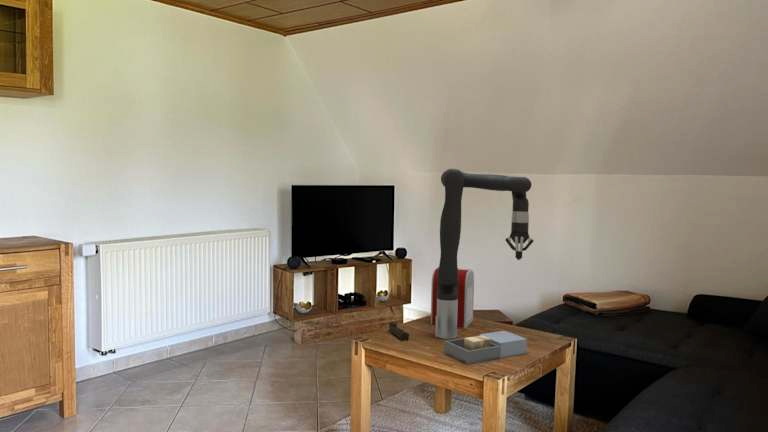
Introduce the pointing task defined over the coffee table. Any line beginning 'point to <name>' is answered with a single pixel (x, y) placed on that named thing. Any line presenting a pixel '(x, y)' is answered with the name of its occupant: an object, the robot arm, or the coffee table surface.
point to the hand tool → (398, 331)
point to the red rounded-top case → (463, 297)
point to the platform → (508, 343)
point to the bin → (471, 352)
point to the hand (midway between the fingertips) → (518, 259)
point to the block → (476, 342)
